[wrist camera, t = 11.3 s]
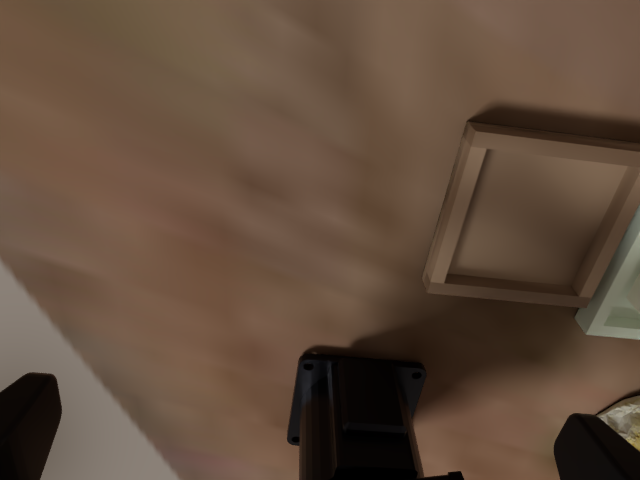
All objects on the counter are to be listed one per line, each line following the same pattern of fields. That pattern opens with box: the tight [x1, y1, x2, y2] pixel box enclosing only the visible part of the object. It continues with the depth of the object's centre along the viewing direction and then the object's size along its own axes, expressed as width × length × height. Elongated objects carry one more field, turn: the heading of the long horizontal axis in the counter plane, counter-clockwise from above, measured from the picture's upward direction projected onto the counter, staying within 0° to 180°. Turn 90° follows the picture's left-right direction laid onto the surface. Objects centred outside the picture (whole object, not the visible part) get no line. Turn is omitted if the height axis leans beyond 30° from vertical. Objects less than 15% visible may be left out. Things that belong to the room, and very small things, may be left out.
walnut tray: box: [422, 121, 640, 308], centre depth 21 cm, size 7×7×1 cm
